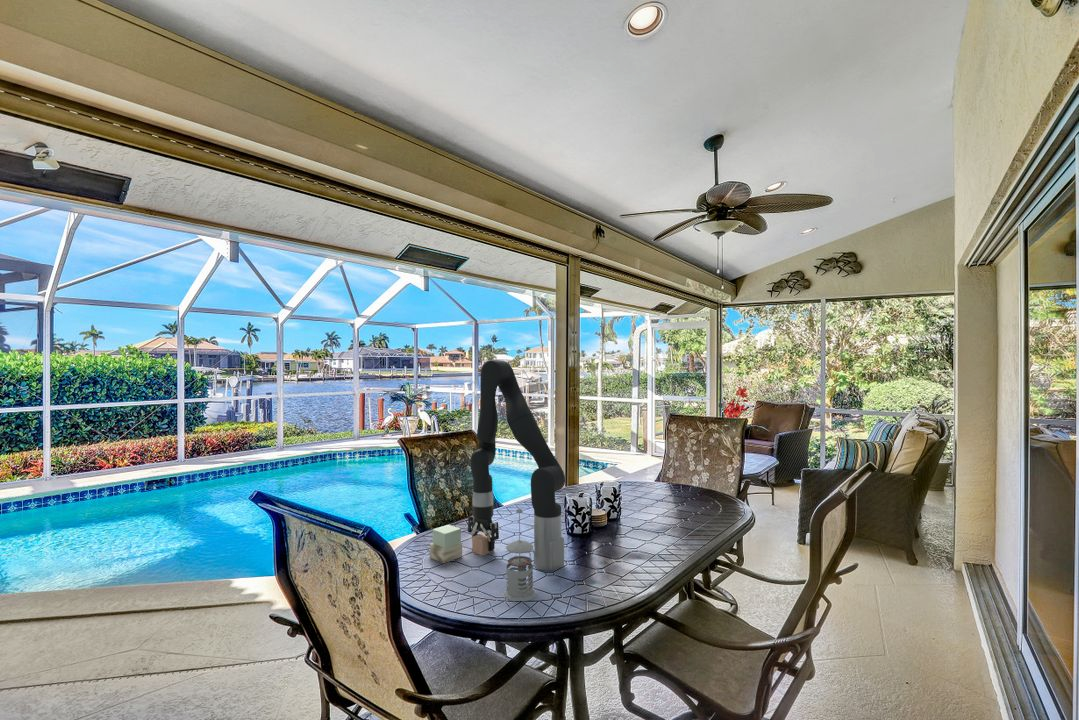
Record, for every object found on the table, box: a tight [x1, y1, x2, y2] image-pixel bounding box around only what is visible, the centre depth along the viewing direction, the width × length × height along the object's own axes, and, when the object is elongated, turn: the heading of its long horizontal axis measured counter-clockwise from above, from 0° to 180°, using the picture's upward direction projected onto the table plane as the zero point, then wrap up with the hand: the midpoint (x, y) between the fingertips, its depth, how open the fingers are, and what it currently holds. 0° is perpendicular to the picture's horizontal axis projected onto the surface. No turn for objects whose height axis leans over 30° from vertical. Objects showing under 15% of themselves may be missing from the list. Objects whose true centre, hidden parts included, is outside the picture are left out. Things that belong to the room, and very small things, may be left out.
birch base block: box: [429, 542, 463, 564], centre depth 172 cm, size 8×8×5 cm
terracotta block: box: [471, 532, 495, 556], centre depth 177 cm, size 6×6×6 cm
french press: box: [503, 508, 537, 602], centre depth 145 cm, size 10×12×25 cm
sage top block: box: [432, 524, 462, 548], centre depth 172 cm, size 7×7×5 cm
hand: (483, 548), depth 177 cm, fingers open, 8 cm apart
